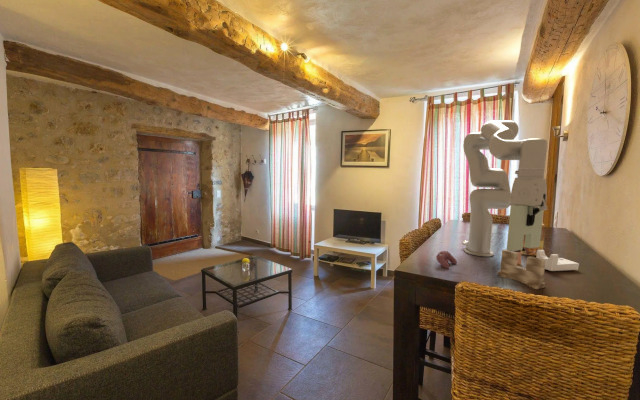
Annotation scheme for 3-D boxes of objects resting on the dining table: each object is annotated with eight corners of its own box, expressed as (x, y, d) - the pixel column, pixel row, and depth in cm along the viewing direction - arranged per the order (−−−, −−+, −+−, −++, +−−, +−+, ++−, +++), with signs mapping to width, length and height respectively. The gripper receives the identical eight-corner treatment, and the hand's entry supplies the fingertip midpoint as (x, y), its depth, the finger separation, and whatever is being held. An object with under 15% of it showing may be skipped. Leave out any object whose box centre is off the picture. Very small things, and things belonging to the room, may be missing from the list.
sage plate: (506, 249, 103) (510, 205, 101) (533, 245, 110) (538, 203, 108) (512, 251, 101) (516, 206, 100) (539, 246, 108) (544, 204, 106)
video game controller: (448, 265, 128) (442, 250, 129) (458, 263, 125) (451, 247, 126) (439, 271, 121) (432, 254, 122) (449, 268, 118) (442, 252, 119)
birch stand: (497, 275, 112) (499, 250, 111) (505, 273, 114) (508, 248, 113) (536, 289, 100) (539, 261, 99) (544, 287, 102) (547, 259, 101)
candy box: (539, 254, 140) (542, 223, 139) (542, 256, 137) (546, 225, 135) (518, 252, 144) (521, 221, 142) (520, 254, 140) (523, 223, 138)
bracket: (550, 273, 116) (553, 255, 115) (535, 267, 123) (537, 250, 122) (577, 271, 118) (580, 253, 117) (560, 265, 125) (562, 248, 124)
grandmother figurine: (521, 263, 126) (523, 235, 125) (526, 266, 122) (529, 237, 121) (502, 263, 127) (505, 235, 125) (507, 266, 123) (510, 237, 121)
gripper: (502, 173, 108) (497, 221, 110) (549, 174, 94) (543, 230, 96) (514, 173, 111) (510, 220, 113) (562, 174, 97) (556, 228, 99)
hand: (525, 224), depth 104 cm, fingers closed on sage plate, 2 cm apart
